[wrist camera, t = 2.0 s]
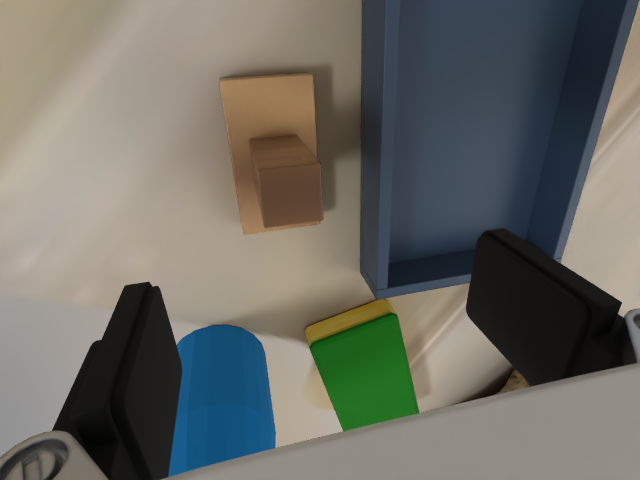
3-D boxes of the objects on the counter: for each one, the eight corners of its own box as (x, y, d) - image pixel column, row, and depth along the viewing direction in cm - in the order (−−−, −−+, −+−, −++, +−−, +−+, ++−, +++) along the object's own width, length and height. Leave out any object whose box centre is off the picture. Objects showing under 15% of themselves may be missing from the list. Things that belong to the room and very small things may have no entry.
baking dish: (362, -207, 17) (394, -264, 14) (632, -189, 19) (710, -233, 16) (359, 272, 29) (376, 300, 26) (526, 244, 31) (559, 266, 28)
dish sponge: (385, 295, 31) (397, 314, 28) (410, 400, 37) (421, 421, 35) (303, 326, 30) (309, 347, 28) (343, 426, 37) (350, 449, 35)
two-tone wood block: (219, 78, 21) (217, 93, 14) (308, 72, 22) (344, 84, 15) (242, 225, 25) (249, 288, 18) (315, 215, 26) (346, 272, 19)
